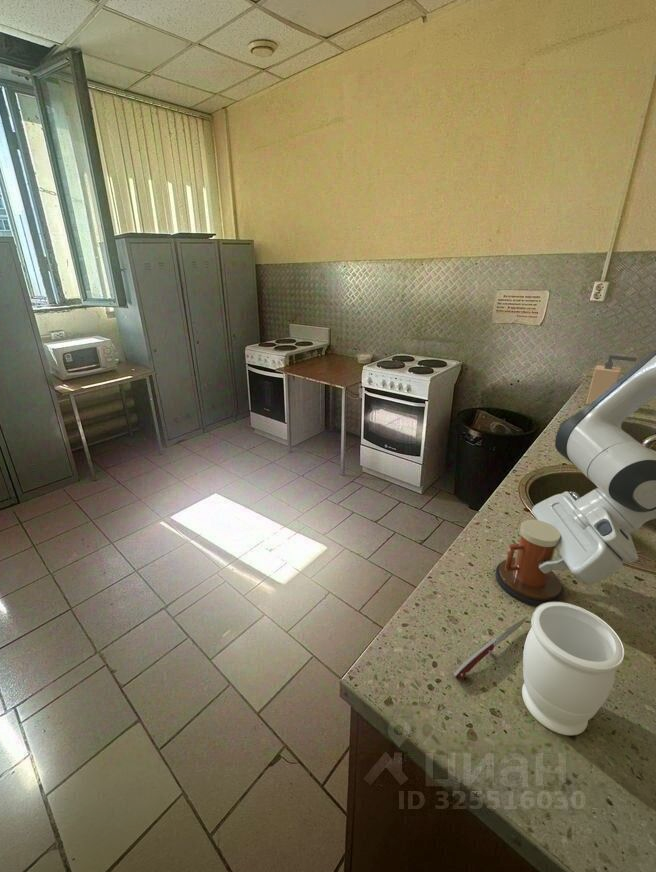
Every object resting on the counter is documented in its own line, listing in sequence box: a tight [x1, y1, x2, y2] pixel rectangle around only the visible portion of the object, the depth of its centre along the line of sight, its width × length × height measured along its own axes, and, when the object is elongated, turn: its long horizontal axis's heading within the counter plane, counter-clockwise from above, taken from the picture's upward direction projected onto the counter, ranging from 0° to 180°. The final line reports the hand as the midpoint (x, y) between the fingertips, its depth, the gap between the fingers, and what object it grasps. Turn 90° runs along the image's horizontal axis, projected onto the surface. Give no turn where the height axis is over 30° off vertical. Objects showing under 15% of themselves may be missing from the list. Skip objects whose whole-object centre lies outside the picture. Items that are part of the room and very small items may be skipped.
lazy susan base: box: [494, 561, 564, 607], centre depth 80 cm, size 12×12×1 cm
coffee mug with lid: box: [499, 519, 562, 600], centre depth 78 cm, size 11×11×12 cm
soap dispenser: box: [585, 354, 638, 405], centre depth 172 cm, size 13×9×22 cm
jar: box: [521, 601, 625, 736], centre depth 56 cm, size 11×10×15 cm
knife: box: [452, 616, 529, 682], centre depth 66 cm, size 20×1×3 cm, turn 122°
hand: (532, 555), depth 78 cm, fingers closed on coffee mug with lid, 6 cm apart
